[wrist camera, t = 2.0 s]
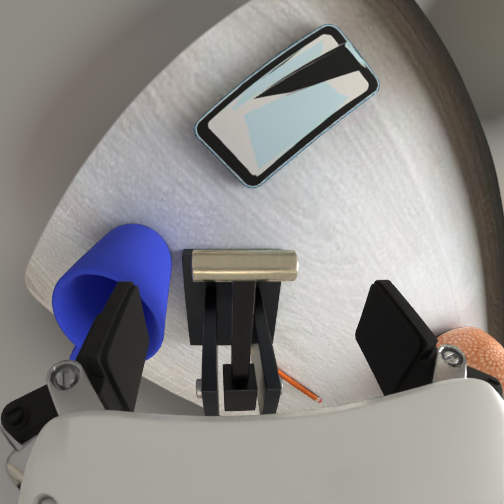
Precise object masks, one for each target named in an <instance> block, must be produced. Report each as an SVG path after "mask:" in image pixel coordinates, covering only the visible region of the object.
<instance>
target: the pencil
mask: <svg viewBox="0 0 504 504" xmlns="http://www.w3.org/2000/svg"><path fill="white" fill-rule="evenodd" d="M278 373H279V377H281V378H282V379H284V380H285V381H287V382H288V383H289V384H291V385H292V386H294V387H295V388H297V389H298V390H300V391H301V392H303V393H304V394H306V395H307V396H309V397H310V398H312V399H313V400H315V401H316V402H318V403H321V402H322V400H321V399H320V398H318V397H317V396H315V395H314V394H313V393H311V392H310V391H308V390H307V389H305V388H304V387H302V386H301V385H300V384H298V383H297V382H295V381H294V380H293V379H291V378H290V377H288V376H287V375H286V374H284V373H283V372H282V371H280V370H279V369H278Z"/></svg>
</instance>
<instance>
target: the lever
mask: <svg viewBox="0 0 504 504" xmlns="http://www.w3.org/2000/svg"><path fill="white" fill-rule="evenodd" d="M297 273H298V259H297V254H296V252H295V251H294V250H193V253H192V279H193V281H194V282H232V331H231V364H223V387H224V408H225V411H249V410H255V408H256V400H257V392H258V387H257V381H256V374H255V367H254V364H253V363H252V364H250V354H251V340H252V327H253V313H254V300H255V286H256V282H271V281H294V280H295V279H296V277H297Z"/></svg>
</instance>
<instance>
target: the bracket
mask: <svg viewBox="0 0 504 504" xmlns="http://www.w3.org/2000/svg"><path fill="white" fill-rule="evenodd" d="M193 250H271V249H184V250H183V253H182V263H183V277H184V289H185V299H186V310H187V319H188V328H189V337H190V345H203V349H202V379H197V380H196V395H197V398H202V400H203V407H204V413H205V416H219V389H218V345H231V331H232V282H194V281H193V279H192V253H193ZM280 287H281V281H271V282H256V286H255V300H254V313H253V327H252V340H251V355H252V362H253V364H254V367H255V374H256V381H257V387H258V392H257V397H258V404H259V411H260V415H265V414H276V411H277V407H278V403H279V398H280V395H281V394H282V392H283V383H282V379H281V377H279V373H278V368H277V364H276V359H275V355H274V350H273V346H272V344H273V338H274V331H275V324H276V317H277V310H278V302H279V294H280Z"/></svg>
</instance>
